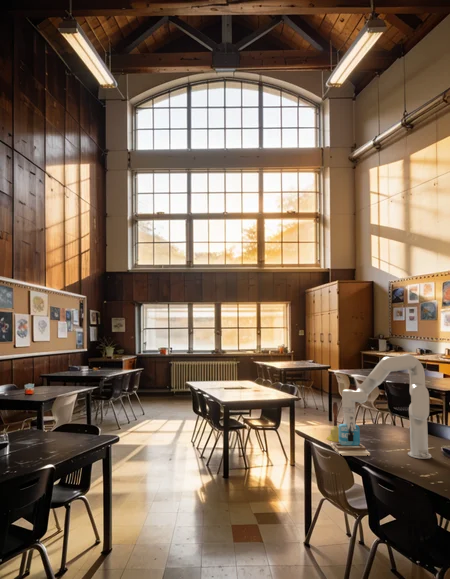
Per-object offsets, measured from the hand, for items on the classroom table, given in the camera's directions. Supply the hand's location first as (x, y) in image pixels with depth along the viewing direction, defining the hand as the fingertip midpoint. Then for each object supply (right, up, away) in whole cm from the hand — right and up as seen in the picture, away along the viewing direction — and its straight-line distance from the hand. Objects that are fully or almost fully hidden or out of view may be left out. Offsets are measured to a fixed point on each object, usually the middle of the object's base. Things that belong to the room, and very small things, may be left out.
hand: (349, 439), depth 269 cm
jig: (0, -6, -1) cm, 6 cm away
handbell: (-2, -9, +26) cm, 28 cm away
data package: (0, -3, 0) cm, 3 cm away
